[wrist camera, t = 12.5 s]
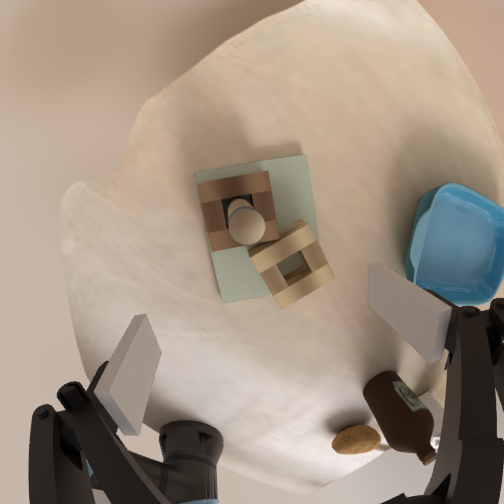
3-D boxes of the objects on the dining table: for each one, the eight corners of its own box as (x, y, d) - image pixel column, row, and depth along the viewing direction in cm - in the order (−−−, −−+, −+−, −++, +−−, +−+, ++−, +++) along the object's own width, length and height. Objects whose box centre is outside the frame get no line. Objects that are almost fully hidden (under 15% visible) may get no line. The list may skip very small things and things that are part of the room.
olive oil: (379, 403, 55) (423, 474, 31) (351, 397, 53) (396, 479, 29) (406, 372, 53) (461, 440, 29) (381, 363, 51) (440, 442, 27)
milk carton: (428, 390, 57) (462, 431, 39) (425, 403, 59) (456, 443, 41) (408, 402, 57) (440, 447, 39) (406, 415, 59) (435, 457, 41)
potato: (337, 418, 55) (348, 441, 47) (379, 416, 57) (391, 436, 49) (319, 441, 57) (328, 463, 49) (361, 438, 59) (370, 458, 52)
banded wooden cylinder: (229, 219, 39) (232, 248, 23) (225, 198, 38) (225, 212, 22) (250, 215, 39) (268, 241, 23) (246, 194, 38) (262, 205, 23)
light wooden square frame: (276, 297, 43) (281, 309, 39) (247, 250, 40) (249, 258, 36) (325, 268, 42) (334, 277, 38) (300, 219, 40) (308, 223, 36)
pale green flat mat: (222, 300, 43) (222, 304, 42) (195, 173, 38) (194, 173, 36) (319, 280, 44) (322, 283, 43) (303, 155, 38) (306, 154, 37)
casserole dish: (376, 288, 46) (396, 305, 39) (402, 167, 40) (428, 167, 34) (479, 295, 51) (497, 306, 44) (500, 212, 45) (520, 217, 39)
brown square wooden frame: (212, 244, 39) (211, 252, 35) (200, 183, 37) (197, 183, 33) (274, 232, 40) (279, 238, 36) (263, 171, 37) (268, 170, 33)
